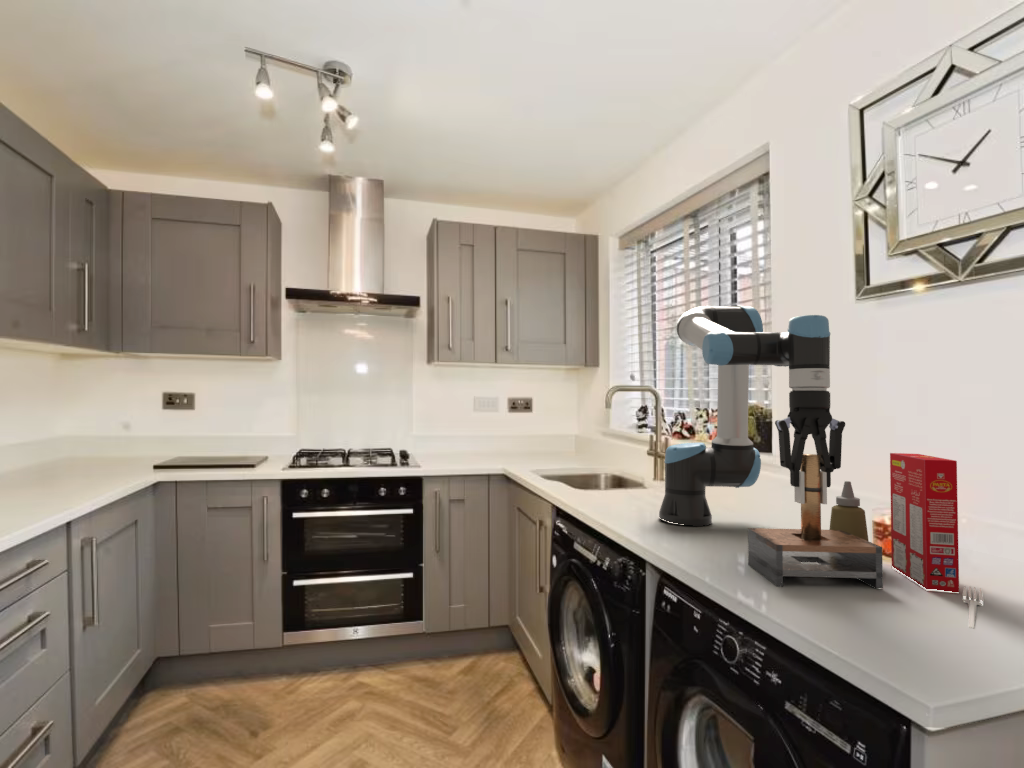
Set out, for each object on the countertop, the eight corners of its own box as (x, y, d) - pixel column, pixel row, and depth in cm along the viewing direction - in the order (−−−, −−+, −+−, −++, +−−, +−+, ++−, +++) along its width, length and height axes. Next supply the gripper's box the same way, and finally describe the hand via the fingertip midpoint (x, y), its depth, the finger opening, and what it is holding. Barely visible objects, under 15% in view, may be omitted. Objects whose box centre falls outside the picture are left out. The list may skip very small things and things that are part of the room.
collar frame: (748, 564, 118) (748, 528, 118) (841, 566, 117) (841, 530, 117) (776, 586, 104) (776, 544, 104) (882, 589, 103) (882, 547, 103)
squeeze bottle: (832, 564, 119) (831, 482, 120) (824, 554, 127) (823, 478, 127) (874, 568, 116) (873, 485, 117) (864, 558, 124) (863, 480, 124)
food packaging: (959, 593, 101) (956, 460, 102) (927, 591, 102) (924, 459, 103) (919, 570, 115) (917, 453, 116) (891, 568, 117) (890, 453, 117)
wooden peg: (797, 539, 113) (796, 453, 113) (815, 540, 112) (814, 454, 113) (806, 544, 109) (805, 455, 110) (825, 544, 109) (824, 455, 109)
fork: (958, 630, 86) (957, 618, 86) (961, 595, 101) (961, 585, 101) (985, 636, 84) (984, 624, 84) (984, 598, 99) (984, 588, 99)
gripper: (776, 389, 109) (777, 505, 108) (861, 389, 108) (863, 507, 107) (760, 390, 116) (761, 498, 115) (840, 390, 115) (842, 500, 114)
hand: (810, 502), depth 111 cm, fingers closed on wooden peg, 4 cm apart
